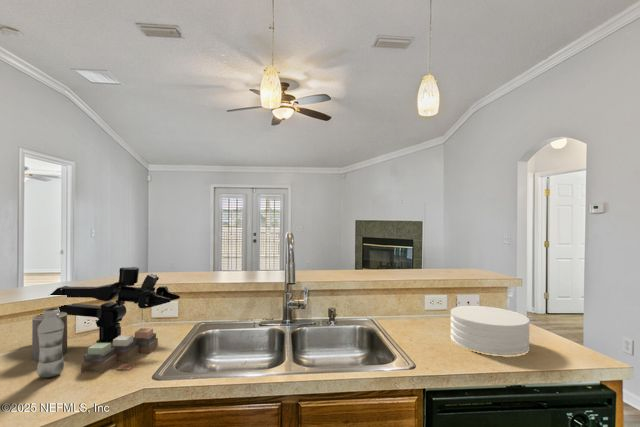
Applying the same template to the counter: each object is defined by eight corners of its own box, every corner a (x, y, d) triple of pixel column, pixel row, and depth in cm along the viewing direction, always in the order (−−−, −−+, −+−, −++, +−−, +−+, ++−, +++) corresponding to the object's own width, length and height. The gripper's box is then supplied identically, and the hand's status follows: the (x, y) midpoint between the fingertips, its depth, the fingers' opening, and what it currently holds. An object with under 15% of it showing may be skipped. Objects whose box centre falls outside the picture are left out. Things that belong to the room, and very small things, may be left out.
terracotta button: (134, 339, 125) (134, 332, 125) (140, 335, 130) (140, 328, 130) (147, 339, 125) (147, 332, 125) (153, 335, 130) (153, 328, 130)
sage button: (87, 356, 110) (88, 348, 110) (96, 350, 115) (96, 342, 115) (102, 356, 110) (102, 348, 110) (110, 350, 115) (110, 342, 115)
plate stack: (449, 350, 131) (449, 319, 131) (451, 328, 157) (451, 303, 157) (536, 363, 120) (536, 329, 121) (522, 337, 146) (523, 310, 146)
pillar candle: (55, 347, 128) (55, 307, 128) (73, 351, 125) (73, 309, 125) (25, 358, 119) (25, 314, 119) (43, 362, 116) (43, 317, 116)
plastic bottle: (69, 372, 108) (70, 307, 108) (45, 382, 102) (47, 313, 102) (54, 369, 110) (55, 306, 111) (30, 378, 104) (32, 311, 104)
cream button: (112, 347, 118) (112, 339, 118) (120, 342, 122) (120, 335, 122) (126, 347, 118) (126, 339, 118) (133, 342, 122) (133, 335, 122)
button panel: (81, 372, 109) (81, 356, 109) (119, 346, 131) (120, 332, 131) (126, 372, 109) (126, 356, 109) (157, 346, 131) (157, 332, 131)
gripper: (126, 275, 129) (168, 280, 129) (149, 272, 148) (186, 276, 148) (121, 306, 128) (164, 311, 128) (145, 299, 146) (182, 303, 147)
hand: (175, 298), depth 138 cm, fingers open, 9 cm apart
